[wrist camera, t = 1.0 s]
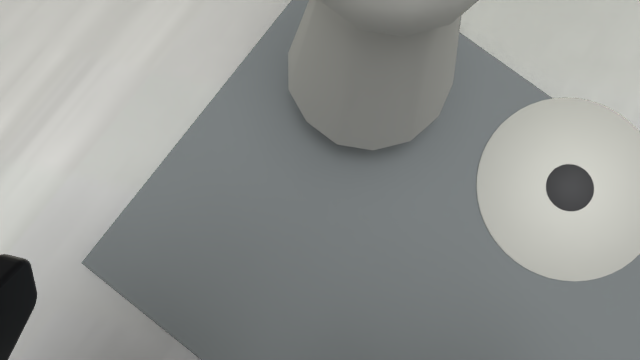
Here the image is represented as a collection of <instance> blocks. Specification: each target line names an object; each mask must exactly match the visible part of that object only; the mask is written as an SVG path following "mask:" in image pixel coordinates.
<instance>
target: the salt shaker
mask: <svg viewBox="0 0 640 360" xmlns="http://www.w3.org/2000/svg"><path fill="white" fill-rule="evenodd" d="M477 1H478V0H309V2H308V4H307V7H306V9H305V12H304V14H303V17H302V20H301V22H300V25H299V27H298V30H297V32H296V35H295V37H294V40H293V42H292V45H291V47H290V50H289V52H288V90H289V91H290V93H291V95H292V97H293V99H294V100H295V102H296V104H297V106H298V107H299V109H300V111H301V113H302V114H303V116H304V118H305V120H306V121H307V122H308V123H309V124H310V125H312V126H313V127H314V128H316V129H317V130H318V131H320V132H321V133H322V134H324V135H325V136H326V137H328V138H329V139H330V140H332V141H333V142H334V143H335V144H337V145H343V146H349V147H355V148H361V149H367V150H377V149H381V148H385V147H389V146H393V145H397V144H401V143H405V142H409V141H411V140H412V139H414V138H415V137H416V136H417V135H418V134H419V133H420V132H421V131H423V130H424V129H425V128H426V127H427V126H428V125H429V124H431V123H432V122H433V121H434V120H435V119H436V118H437V117H438V116H439V114H440V112H441V110H442V108H443V105H444V103H445V101H446V98H447V96H448V94H449V91H450V89H451V87H452V84H453V80H454V71H455V63H456V55H457V46H458V38H459V29H460V21H461V15H462V14H463V13H464V12H465V11H467V10H468V9H469V8H470V7H471V6H472V5H474V4H475V3H476V2H477Z"/></svg>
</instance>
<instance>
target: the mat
mask: <svg viewBox="0 0 640 360" xmlns="http://www.w3.org/2000/svg"><path fill="white" fill-rule="evenodd" d="M308 2H309V0H292V1H291V2H290V3H289V4H288V6H287V7H286V8H285V9H284V11H283V12H282V13H281V14H280V16H279V17H278V18H277V19H276V21H275V22H274V23H273V24H272V26H271V27H270V28H269V29H268V31H267V32H266V33H265V34H264V36H263V37H262V38H261V39H260V41H259V42H258V43H257V44H256V46H255V47H254V48H253V49H252V51H251V52H250V53H249V54H248V56H247V57H246V58H245V59H244V61H243V62H242V63H241V64H240V65H239V67H238V68H237V69H236V70H235V72H234V73H233V74H232V75H231V77H230V78H229V79H228V80H227V82H226V83H225V84H224V85H223V87H222V88H221V89H220V90H219V92H218V93H217V94H216V95H215V97H214V98H213V99H212V100H211V102H210V103H209V104H208V105H207V107H206V108H205V109H204V110H203V112H202V113H201V114H200V115H199V117H198V118H197V119H196V120H195V122H194V123H193V124H192V125H191V127H190V128H189V129H188V130H187V132H186V133H185V134H184V135H183V137H182V138H181V139H180V140H179V142H178V143H177V144H176V145H175V147H174V148H173V149H172V150H171V152H170V153H169V154H168V155H167V157H166V158H165V159H164V160H163V162H162V163H161V164H160V165H159V167H158V168H157V169H156V170H155V172H154V173H153V174H152V175H151V177H150V178H149V179H148V180H147V182H146V183H145V184H144V185H143V187H142V188H141V189H140V190H139V192H138V193H137V194H136V195H135V197H134V198H133V199H132V200H131V202H130V203H129V204H128V205H127V207H126V208H125V209H124V210H123V212H122V213H121V214H120V215H119V217H118V218H117V219H116V220H115V222H114V223H113V224H112V225H111V227H110V228H109V229H108V230H107V232H106V233H105V234H104V235H103V237H102V238H101V239H100V240H99V242H98V243H97V244H96V245H95V247H94V248H93V249H92V250H91V252H90V253H89V254H88V255H87V257H86V258H85V259H84V260H83V262H82V264H83V265H85V266H86V267H87V268H88V269H90V270H91V271H92V272H93V273H94V274H96V275H97V276H98V277H99V278H101V279H102V280H103V281H104V282H106V283H107V284H108V285H109V286H111V287H112V288H113V289H114V290H116V291H117V292H118V293H119V294H120V295H122V296H123V297H124V298H125V299H127V300H128V301H129V302H130V303H132V304H133V305H134V306H135V307H137V308H138V309H139V310H140V311H142V312H143V313H144V314H145V315H146V316H148V317H149V318H150V319H151V320H153V321H154V322H155V323H156V324H158V325H159V326H160V327H161V328H163V329H164V330H165V331H166V332H168V333H169V334H170V335H171V336H172V337H174V338H175V339H176V340H177V341H179V342H180V343H181V344H182V345H184V346H185V347H186V348H187V349H189V350H190V351H191V352H192V353H193V354H195V355H196V356H197V357H198V358H200V359H201V360H640V131H639V130H638V129H637V128H636V127H635V126H634V125H633V124H632V123H631V122H629V121H628V120H627V119H626V118H624V117H623V116H622V115H620V114H619V113H617V112H615V111H614V110H612V109H610V108H608V107H606V106H604V105H601V104H599V103H596V102H592V101H589V100H584V99H579V98H551V97H550V96H548V95H547V94H546V93H544V92H543V91H541V90H540V89H539V88H537V87H536V86H534V85H533V84H531V83H530V82H529V81H527V80H526V79H524V78H523V77H522V76H520V75H519V74H517V73H516V72H515V71H513V70H512V69H510V68H509V67H508V66H506V65H505V64H503V63H502V62H501V61H499V60H498V59H496V58H495V57H493V56H492V55H491V54H489V53H488V52H486V51H485V50H484V49H482V48H481V47H479V46H478V45H477V44H475V43H474V42H472V41H471V40H470V39H468V38H467V37H465V36H464V35H463V34H461V33H460V32H459V38H458V46H457V55H456V63H455V71H454V80H453V84H452V87H451V89H450V91H449V94H448V96H447V98H446V101H445V103H444V105H443V108H442V110H441V112H440V114H439V116H438V117H437V118H436V119H435V120H434V121H433V122H432V123H431V124H429V125H428V126H427V127H426V128H425V129H424V130H423V131H421V132H420V133H419V134H418V135H417V136H416V137H415V138H414V139H412V140H411V141H409V142H405V143H401V144H397V145H393V146H389V147H385V148H381V149H377V150H367V149H361V148H355V147H349V146H343V145H337V144H335V143H334V142H333V141H332V140H330V139H329V138H328V137H326V136H325V135H324V134H322V133H321V132H320V131H318V130H317V129H316V128H314V127H313V126H312V125H310V124H309V123H308V122H307V121H306V120H305V118H304V116H303V114H302V113H301V111H300V109H299V107H298V106H297V104H296V102H295V100H294V99H293V97H292V95H291V93H290V91H289V90H288V52H289V50H290V47H291V45H292V42H293V40H294V37H295V35H296V32H297V30H298V27H299V25H300V22H301V20H302V17H303V14H304V12H305V9H306V7H307V4H308Z"/></svg>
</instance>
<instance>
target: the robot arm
mask: <svg viewBox="0 0 640 360" xmlns="http://www.w3.org/2000/svg"><path fill="white" fill-rule="evenodd" d="M36 299H37V290H36V286H35V281H34V277H33V272H32V268H31V264H30V263H29V261H28V260H26V259H23V258H19V257H15V256H11V255H6V254H3V255H0V360H8V358H9V356H10V354H11V352H12V351H13V349H14V347H15V345H16V343H17V341H18V339H19V337H20V335H21V333H22V331H23V329H24V327H25V325H26V323H27V321H28V319H29V317H30V315H31V313H32V311H33V309H34V306H35V303H36Z"/></svg>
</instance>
